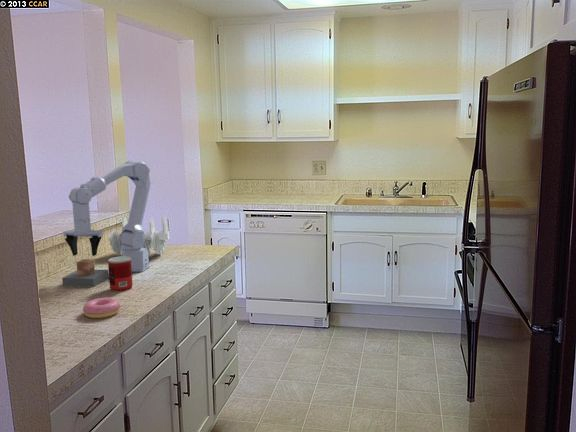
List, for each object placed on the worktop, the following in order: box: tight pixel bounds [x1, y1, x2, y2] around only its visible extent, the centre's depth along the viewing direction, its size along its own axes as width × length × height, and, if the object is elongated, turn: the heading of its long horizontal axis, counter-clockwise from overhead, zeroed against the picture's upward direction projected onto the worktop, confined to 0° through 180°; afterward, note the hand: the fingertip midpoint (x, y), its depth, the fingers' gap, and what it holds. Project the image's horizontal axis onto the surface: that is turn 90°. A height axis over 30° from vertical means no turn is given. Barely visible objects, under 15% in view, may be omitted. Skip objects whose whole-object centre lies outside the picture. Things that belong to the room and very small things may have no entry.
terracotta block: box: [76, 258, 96, 275], centre depth 194 cm, size 4×4×5 cm
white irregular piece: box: [108, 216, 170, 256], centre depth 234 cm, size 18×18×25 cm
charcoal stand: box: [61, 269, 109, 288], centre depth 195 cm, size 12×12×3 cm
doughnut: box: [82, 297, 121, 319], centre depth 161 cm, size 11×11×4 cm
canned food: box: [107, 255, 134, 292], centre depth 185 cm, size 8×8×11 cm
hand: (84, 255), depth 195 cm, fingers open, 7 cm apart
